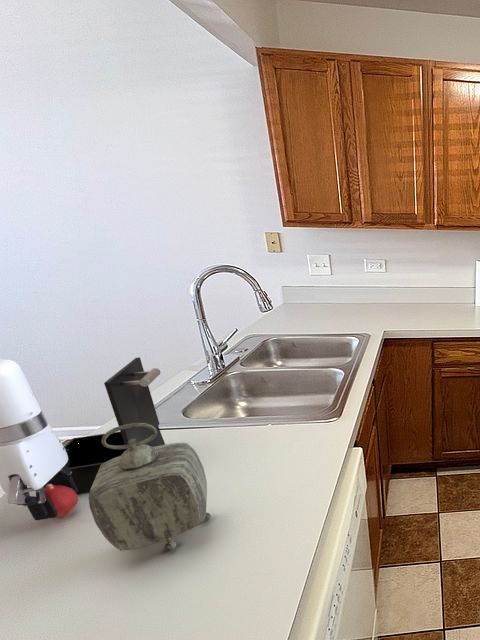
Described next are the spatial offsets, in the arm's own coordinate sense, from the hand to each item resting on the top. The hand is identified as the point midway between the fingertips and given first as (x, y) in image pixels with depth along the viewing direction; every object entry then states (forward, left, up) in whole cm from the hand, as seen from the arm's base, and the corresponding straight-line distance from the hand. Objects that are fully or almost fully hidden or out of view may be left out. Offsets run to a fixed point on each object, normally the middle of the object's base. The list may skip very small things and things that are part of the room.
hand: (57, 504), depth 78 cm
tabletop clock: (+23, -14, -3) cm, 27 cm away
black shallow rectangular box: (+2, +14, -3) cm, 14 cm away
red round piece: (0, 0, -3) cm, 3 cm away
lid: (+11, +14, +13) cm, 22 cm away
